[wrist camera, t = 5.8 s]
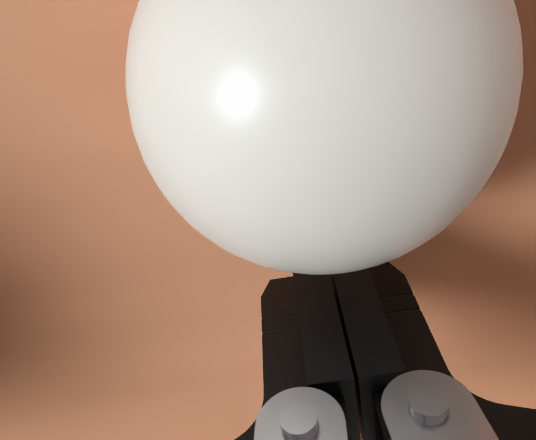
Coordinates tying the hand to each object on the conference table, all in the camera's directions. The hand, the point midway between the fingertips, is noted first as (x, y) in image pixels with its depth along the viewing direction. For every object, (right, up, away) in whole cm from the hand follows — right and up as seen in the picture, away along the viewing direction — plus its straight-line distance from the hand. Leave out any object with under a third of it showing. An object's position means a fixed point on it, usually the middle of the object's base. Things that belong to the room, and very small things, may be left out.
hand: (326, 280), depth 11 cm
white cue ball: (-1, +3, -3) cm, 5 cm away
